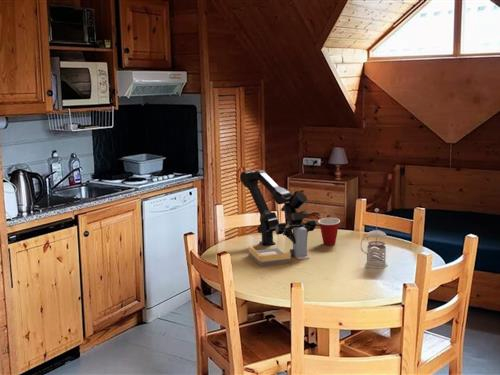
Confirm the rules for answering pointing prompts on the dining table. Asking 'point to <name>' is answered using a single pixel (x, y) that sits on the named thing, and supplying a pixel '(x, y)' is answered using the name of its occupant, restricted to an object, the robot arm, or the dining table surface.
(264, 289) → the dining table surface
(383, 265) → the french press
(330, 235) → the plastic cup
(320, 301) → the dining table surface
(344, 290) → the dining table surface
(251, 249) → the wooden frame
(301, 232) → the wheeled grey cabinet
